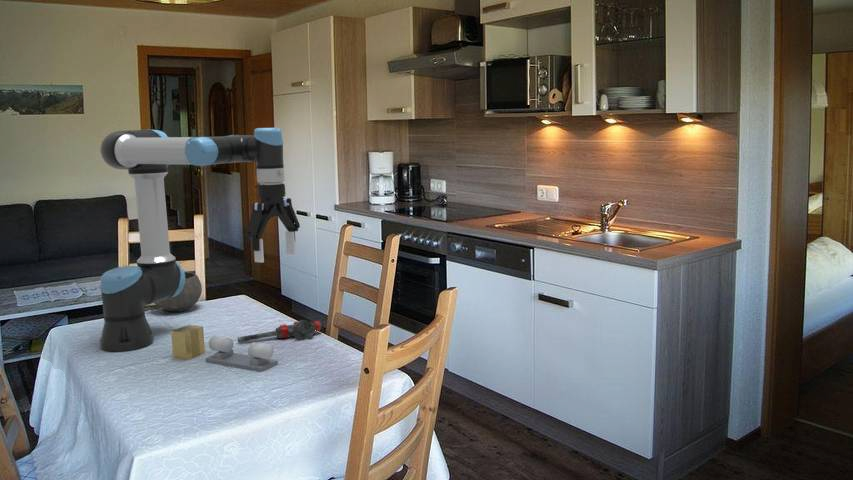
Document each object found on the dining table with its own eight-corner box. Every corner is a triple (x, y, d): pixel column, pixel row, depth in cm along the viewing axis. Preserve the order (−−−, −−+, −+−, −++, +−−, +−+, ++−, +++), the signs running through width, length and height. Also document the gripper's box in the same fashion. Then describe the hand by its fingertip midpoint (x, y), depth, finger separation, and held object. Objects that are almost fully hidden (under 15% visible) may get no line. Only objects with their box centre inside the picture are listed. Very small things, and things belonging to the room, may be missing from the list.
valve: (317, 332, 242) (326, 337, 228) (236, 345, 234) (240, 351, 220) (314, 312, 242) (323, 317, 228) (234, 325, 234) (237, 330, 220)
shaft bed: (206, 361, 208) (204, 339, 207) (223, 354, 214) (222, 333, 213) (261, 371, 199) (259, 348, 197) (277, 363, 205) (276, 341, 204)
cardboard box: (187, 360, 210) (184, 333, 209) (173, 357, 213) (170, 330, 211) (205, 353, 216) (203, 326, 215) (191, 350, 219) (189, 324, 217)
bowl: (175, 318, 255) (172, 282, 253) (140, 312, 264) (137, 278, 262) (213, 306, 270) (211, 272, 268) (179, 301, 279) (176, 268, 277)
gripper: (250, 187, 194) (255, 266, 198) (309, 179, 216) (313, 251, 219) (229, 187, 198) (234, 264, 201) (289, 179, 219) (293, 249, 223)
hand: (275, 257), depth 210 cm, fingers open, 13 cm apart
